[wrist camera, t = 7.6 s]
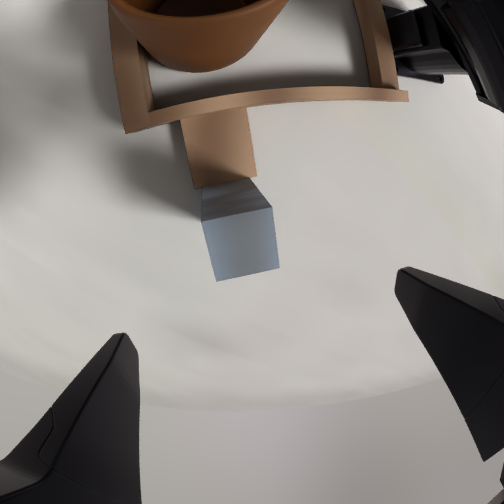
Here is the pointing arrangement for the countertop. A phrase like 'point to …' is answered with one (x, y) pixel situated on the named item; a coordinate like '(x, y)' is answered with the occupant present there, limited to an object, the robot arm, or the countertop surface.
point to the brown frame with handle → (239, 139)
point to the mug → (197, 29)
